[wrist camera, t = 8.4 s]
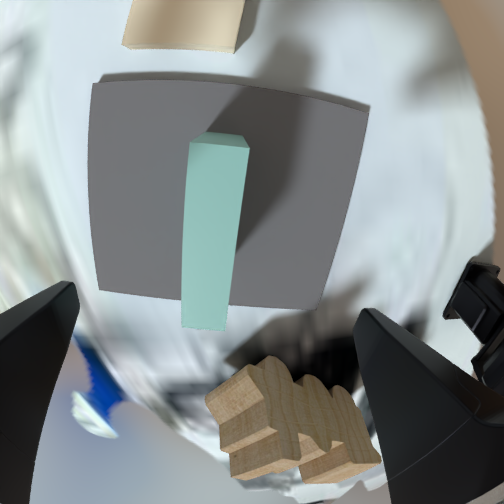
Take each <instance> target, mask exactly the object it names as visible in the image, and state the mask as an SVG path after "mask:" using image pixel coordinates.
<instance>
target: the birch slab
mask: <svg viewBox="0 0 504 504" xmlns="http://www.w3.org/2000/svg"><path fill="white" fill-rule="evenodd" d="M245 1H246V0H133V2H132V6H131V9H130V13H129V16H128V20H127V24H126V28H125V32H124V36H123V41H122V45H123V46H125V47H127V48H129V49H130V50H137V49H186V50H203V51H215V52H225V53H233V54H234V51H235V46H236V42H237V37H238V32H239V27H240V23H241V18H242V14H243V9H244V5H245Z"/></svg>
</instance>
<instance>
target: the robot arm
mask: <svg viewBox="0 0 504 504" xmlns="http://www.w3.org/2000/svg"><path fill="white" fill-rule="evenodd" d="M499 272H500V268H499V267H498V266H495V265H489V264H482V263H475V262H470V263H469V264H468V265H467V267H466V269H465V272H464V274H463V276H462V278H461V280H460V282H459V284H458V286H457V288H456V290H455V292H454V294H453V296H452V298H451V300H450V302H449V304H448V306H447V308H446V309H445V311H444V313H443V318H444V319H445V320H447V319H460V318H461V319H462V320H463V322H464V323H465V324H466V325H467V327H468V328H469V329H470V330H471V331H472V332H473V334H474V335H475V336H476V337H477V339H478V340H479V341H480V343H481V344H482V345H483V347H482V349H481V350H480V351H479V352H478V354H477V355H476V356H474V357H473V358H472V360H471V363H472V365H473V369H474V371H475V373H476V375H477V378H478V380H479V381H478V380H476V379H475V378H473V377H472V376H470V375H469V374H467V373H466V372H465V371H463V370H462V369H460V368H459V367H458V366H456V365H455V364H453V363H452V362H451V361H449V360H448V359H446V358H445V357H444V356H442V355H441V354H439V353H438V352H437V351H435V350H434V349H432V348H431V347H430V346H428V345H427V344H425V343H424V342H422V341H421V340H420V339H418V338H417V337H415V336H414V335H412V334H411V333H410V332H408V331H407V330H405V329H404V328H402V327H401V326H400V325H398V324H397V323H395V322H394V321H392V320H391V319H389V318H388V317H387V316H385V315H384V314H382V313H381V312H379V311H378V310H376V309H374V308H364V309H362V310H361V312H360V314H359V317H358V319H357V321H356V323H355V325H354V328H353V336H354V341H355V346H356V352H357V357H358V362H359V368H360V372H361V376H362V380H363V383H364V387H365V390H366V394H367V398H368V401H369V405H370V409H371V412H372V416H373V420H374V424H375V428H376V432H377V436H378V440H379V444H380V449H381V453H382V458H383V462H384V467H385V471H386V476H387V481H388V487H389V492H390V498H391V503H392V504H504V284H503V283H502V282H501V281H500V280H499V279H498V278H497V276H498V274H499ZM79 310H80V303H79V299H78V295H77V290H76V286H75V284H74V283H73V282H69V281H61V282H59V283H57V284H55V285H53V286H51V287H49V288H47V289H45V290H43V291H41V292H39V293H38V294H36V295H34V296H32V297H30V298H28V299H26V300H25V301H23V302H21V303H19V304H17V305H16V306H14V307H12V308H10V309H8V310H7V311H5V312H3V313H1V314H0V503H1V504H29V501H30V492H31V484H32V478H33V472H34V466H35V460H36V455H37V450H38V445H39V441H40V437H41V432H42V428H43V425H44V421H45V417H46V413H47V410H48V407H49V403H50V400H51V397H52V393H53V390H54V387H55V384H56V381H57V378H58V375H59V373H60V370H61V367H62V364H63V361H64V359H65V356H66V353H67V350H68V347H69V344H70V340H71V337H72V333H73V330H74V327H75V323H76V320H77V317H78V314H79Z"/></svg>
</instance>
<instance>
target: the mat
mask: <svg viewBox="0 0 504 504" xmlns="http://www.w3.org/2000/svg"><path fill="white" fill-rule="evenodd" d="M368 115H369V113H366V112H363V111H360V110H357V109H353V108H350V107H346V106H343V105H339V104H336V103H332V102H328V101H324V100H320V99H316V98H312V97H307V96H303V95H298V94H293V93H288V92H283V91H277V90H272V89H266V88H259V87H252V86H245V85H237V84H228V83H218V82H205V81H188V80H129V81H112V82H100V83H93V85H92V93H91V103H90V115H89V131H88V197H89V214H90V226H91V236H92V245H93V253H94V261H95V268H96V274H97V280H98V286H99V290H103V291H110V292H117V293H124V294H131V295H139V296H147V297H155V298H163V299H172V300H181V287H182V245H183V222H184V205H185V190H186V177H187V165H188V155H189V145H190V142H191V141H192V140H194V139H195V138H197V137H198V136H200V135H201V134H203V133H204V132H215V133H225V134H234V135H242V136H243V137H244V139H245V141H246V142H247V144H248V146H249V148H250V150H249V156H248V163H247V170H246V177H245V184H244V191H243V198H242V205H241V212H240V219H239V227H238V234H237V241H236V249H235V256H234V264H233V272H232V280H231V287H230V295H229V303H228V305H236V306H250V307H265V308H282V309H302V310H316V309H317V306H318V304H319V301H320V298H321V295H322V292H323V289H324V286H325V283H326V280H327V277H328V273H329V270H330V267H331V264H332V261H333V257H334V254H335V251H336V247H337V244H338V241H339V237H340V234H341V230H342V227H343V223H344V219H345V216H346V212H347V208H348V204H349V201H350V197H351V193H352V189H353V185H354V181H355V176H356V172H357V168H358V163H359V159H360V154H361V150H362V145H363V140H364V135H365V130H366V125H367V120H368Z"/></svg>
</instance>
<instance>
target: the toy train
mask: <svg viewBox="0 0 504 504" xmlns="http://www.w3.org/2000/svg"><path fill="white" fill-rule="evenodd" d="M205 403H206V406H207V407H208V409H209V410H210V412H211V413H212V415H213V416H214V418H215V419H216V421H217V422H218V424H219V430H220V449H221V451H223V452H226V453H229V457H230V472H231V477H232V478H237V479H242V480H249V479H252V478H256V477H259V476H262V475H265V474H268V473H270V472H274V473H280V472H283V471H286V470H288V469H291V468H294V467H296V466H299V470H300V474H301V477H302V481H303V482H304V483H305V484H322V483H338V482H340V481H343V480H345V479H348V478H350V477H352V476H355V475H357V474H359V473H361V472H364V471H366V470H368V469H370V468H372V467H374V466H376V465H378V464H380V463H381V461H382V460H381V456H380V455H379V453H378V452H377V451H376V450H375V448H374V447H373V446H372V443H371V440H370V437H369V434H368V431H367V428H366V425H365V422H364V420H363V417H362V414H361V411H360V410H359V408H358V407H356V405H355V403H354V400H353V399H352V397H351V395H350V394H349V393H348V392H347V391H346V390H345V389H344V388H343V387H341V386H339V385H336V386H334V387H332V388H331V389H329V390H327V389H326V387H325V386H324V385H323V384H322V382H321V381H320V380H319V379H318V378H316V377H315V376H312V375H308V374H306V375H304V376H303V377H302V378H300V379H299V380H297V381H296V382H294V383H293V380H292V377H291V375H290V372H289V370H288V369H287V367H286V365H285V364H284V363H283V362H281V361H280V360H279V359H278V358H277V357H274V356H270V355H269V356H267V357H266V358H265V359H263V360H262V361H261V362H259V363H258V364H257V365H255V366H253V365H251V364H248V365H247V366H245V367H244V368H243V369H241V370H240V371H239V372H237V373H236V374H235V375H233V376H232V377H231V378H229V379H228V380H227V381H225V382H224V383H223V384H221V385H220V386H219V387H217V388H216V389H214V390H213V391H212V392H210V393H209V394H207V395H206V396H205Z"/></svg>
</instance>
